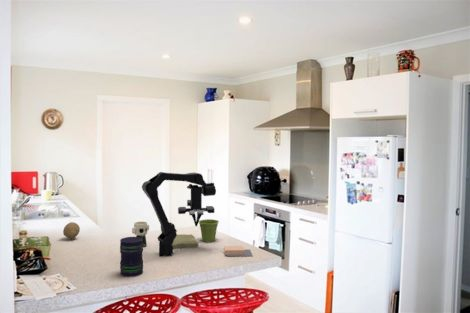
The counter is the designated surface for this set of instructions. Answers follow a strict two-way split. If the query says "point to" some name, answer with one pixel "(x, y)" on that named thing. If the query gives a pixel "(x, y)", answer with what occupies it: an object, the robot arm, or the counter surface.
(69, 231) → the natural sponge
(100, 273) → the counter surface
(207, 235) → the plant pot
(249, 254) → the mat
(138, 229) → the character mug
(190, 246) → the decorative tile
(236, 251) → the tile
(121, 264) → the storage jar
